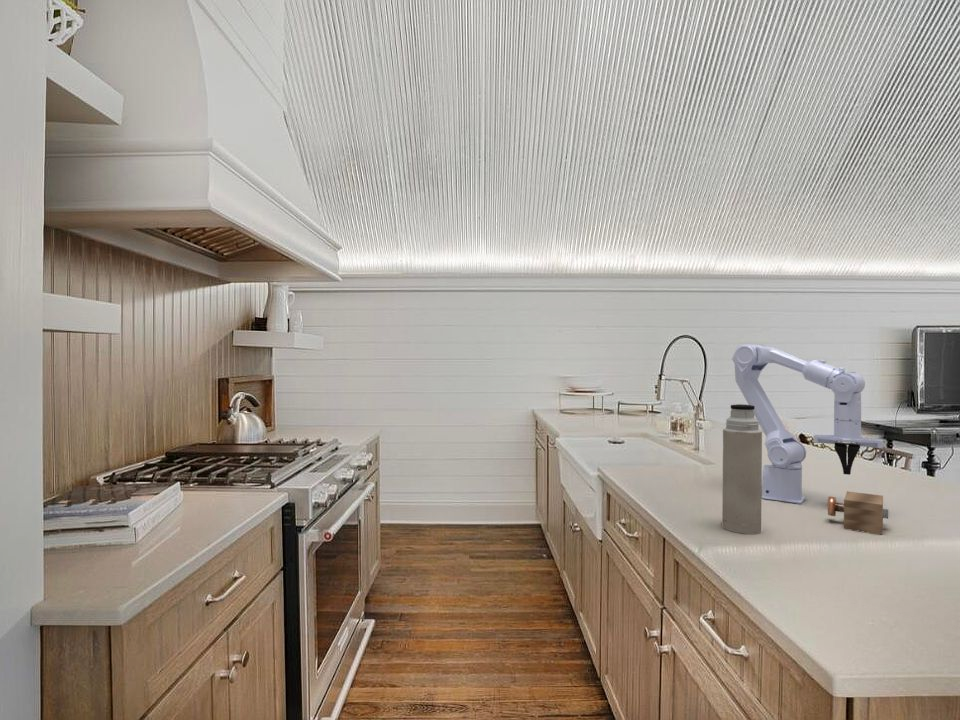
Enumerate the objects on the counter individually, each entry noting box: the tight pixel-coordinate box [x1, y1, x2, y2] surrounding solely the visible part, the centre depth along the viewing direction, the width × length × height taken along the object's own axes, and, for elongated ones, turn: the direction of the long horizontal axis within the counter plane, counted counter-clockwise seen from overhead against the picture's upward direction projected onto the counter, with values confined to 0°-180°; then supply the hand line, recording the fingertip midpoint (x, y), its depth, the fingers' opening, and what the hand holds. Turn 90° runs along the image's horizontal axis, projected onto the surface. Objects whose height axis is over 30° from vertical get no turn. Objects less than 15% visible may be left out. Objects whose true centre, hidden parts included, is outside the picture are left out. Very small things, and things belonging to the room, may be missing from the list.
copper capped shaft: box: [827, 495, 889, 519], centre depth 128 cm, size 11×4×4 cm, turn 53°
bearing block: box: [843, 490, 884, 535], centre depth 128 cm, size 7×10×7 cm
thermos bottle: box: [721, 403, 763, 535], centre depth 125 cm, size 8×8×28 cm
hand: (847, 473), depth 140 cm, fingers closed
